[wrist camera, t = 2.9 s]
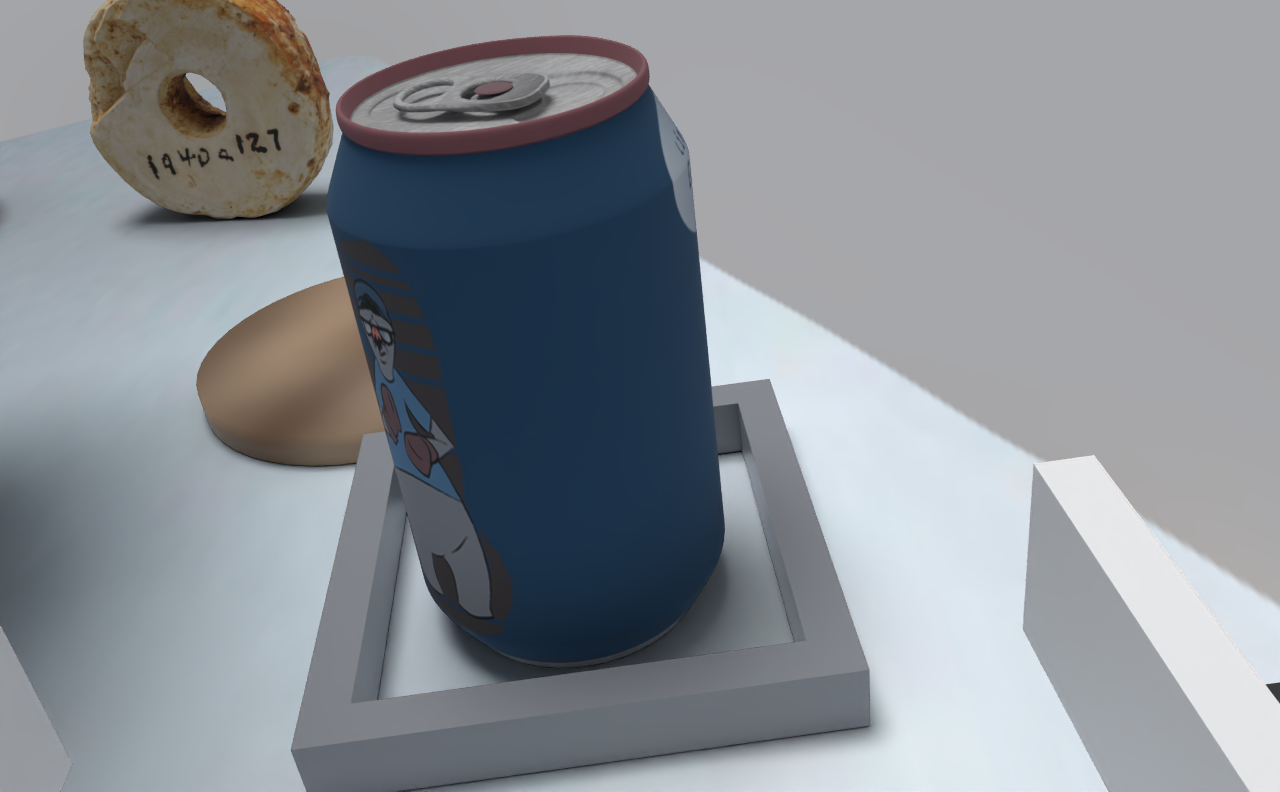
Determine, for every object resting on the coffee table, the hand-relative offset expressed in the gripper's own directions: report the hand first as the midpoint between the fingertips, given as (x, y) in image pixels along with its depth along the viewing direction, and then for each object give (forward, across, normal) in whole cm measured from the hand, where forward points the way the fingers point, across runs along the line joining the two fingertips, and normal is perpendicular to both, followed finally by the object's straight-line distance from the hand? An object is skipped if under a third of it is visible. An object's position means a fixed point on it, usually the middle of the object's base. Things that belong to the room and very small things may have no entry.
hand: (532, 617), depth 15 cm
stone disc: (+39, -14, -8) cm, 42 cm away
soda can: (+10, 0, -8) cm, 13 cm away
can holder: (+10, 0, -8) cm, 13 cm away
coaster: (+22, -6, -8) cm, 24 cm away
